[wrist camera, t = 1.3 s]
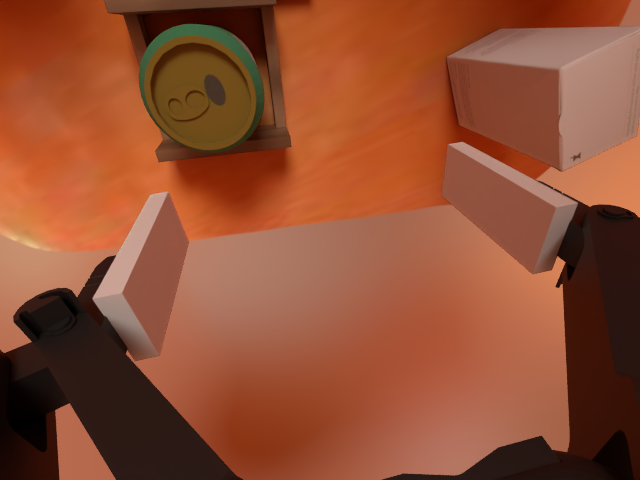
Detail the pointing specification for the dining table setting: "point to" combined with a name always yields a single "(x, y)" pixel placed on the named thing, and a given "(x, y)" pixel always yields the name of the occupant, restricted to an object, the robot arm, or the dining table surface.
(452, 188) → the robot arm
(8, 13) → the dining table surface
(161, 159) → the caddy
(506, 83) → the skincare box
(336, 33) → the dining table surface
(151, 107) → the beverage can
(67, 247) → the dining table surface
